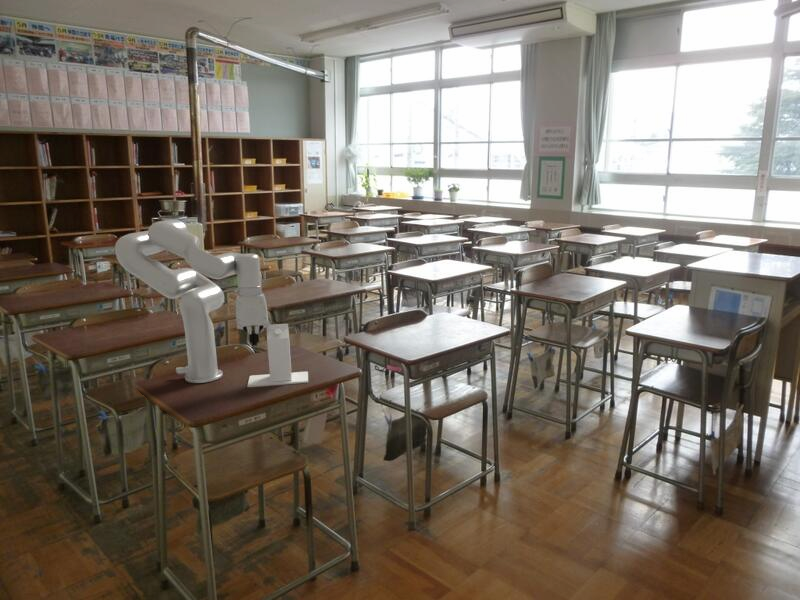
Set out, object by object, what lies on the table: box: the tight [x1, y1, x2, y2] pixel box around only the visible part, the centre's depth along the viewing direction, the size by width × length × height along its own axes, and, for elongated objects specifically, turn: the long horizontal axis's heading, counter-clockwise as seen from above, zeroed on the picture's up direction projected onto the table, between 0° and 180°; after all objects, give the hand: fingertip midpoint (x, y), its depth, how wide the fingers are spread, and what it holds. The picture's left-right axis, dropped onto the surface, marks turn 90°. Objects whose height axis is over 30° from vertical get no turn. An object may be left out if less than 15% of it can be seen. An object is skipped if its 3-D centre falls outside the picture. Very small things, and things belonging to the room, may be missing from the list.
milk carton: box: [266, 323, 292, 382], centre depth 208 cm, size 7×7×19 cm
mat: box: [246, 370, 309, 388], centre depth 210 cm, size 20×10×1 cm, turn 99°
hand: (254, 344), depth 206 cm, fingers closed
